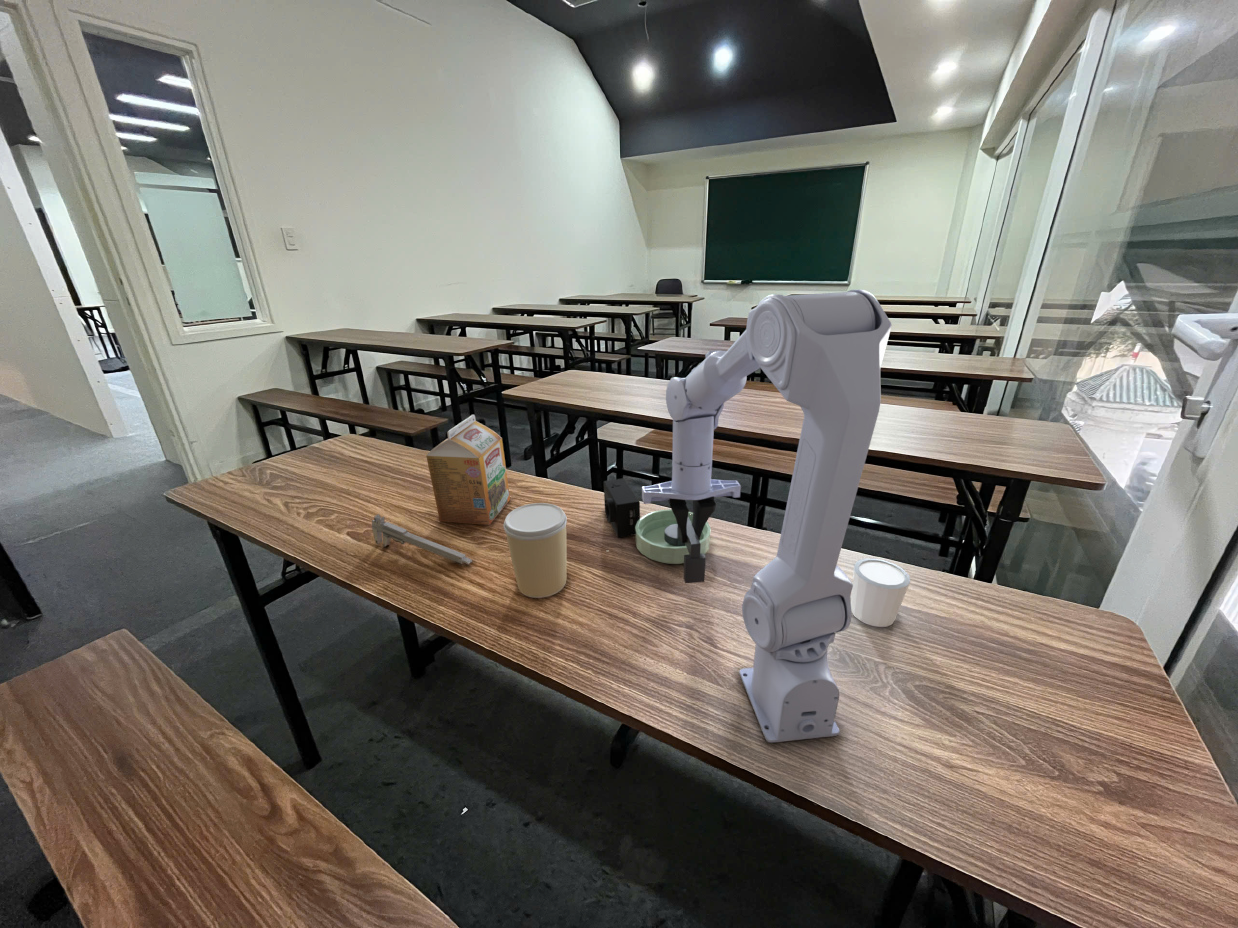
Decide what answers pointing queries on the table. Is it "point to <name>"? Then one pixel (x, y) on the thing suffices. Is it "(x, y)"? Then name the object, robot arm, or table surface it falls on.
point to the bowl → (653, 541)
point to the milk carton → (469, 474)
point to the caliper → (412, 540)
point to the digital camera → (621, 507)
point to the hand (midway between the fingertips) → (689, 539)
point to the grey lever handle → (694, 559)
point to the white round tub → (878, 591)
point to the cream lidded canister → (538, 548)
